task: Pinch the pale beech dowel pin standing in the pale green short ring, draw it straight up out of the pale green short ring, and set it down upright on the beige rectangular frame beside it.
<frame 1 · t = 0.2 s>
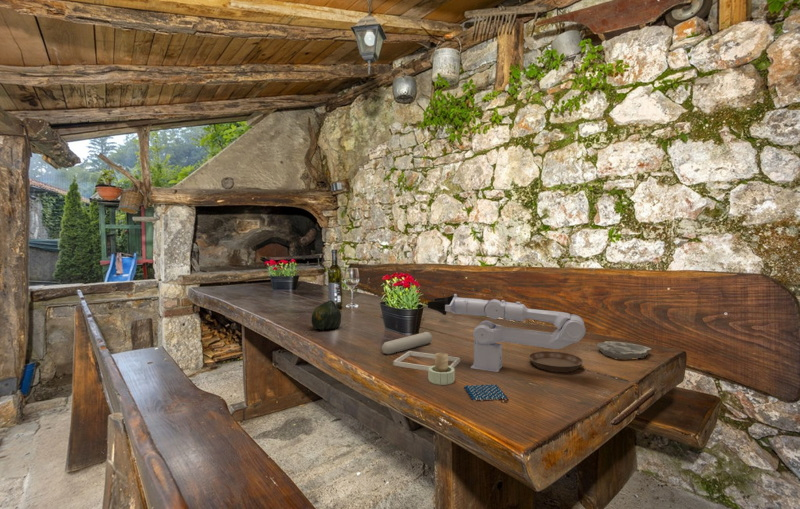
hand: (431, 303, 141), 21 cm above the table, tool horizontal, fingers open, 7 cm apart
dowel pin: (441, 379, 121), point 1 cm above the table, touching pale green short ring
woven mat: (485, 398, 110), on the table
beige rectangular frame: (426, 365, 137), on the table
tube: (406, 349, 158), on the table
pale green short ring: (441, 381, 121), on the table
squash: (326, 329, 194), on the table
grey stone slab: (620, 355, 151), on the table
plant saucer: (555, 366, 137), on the table
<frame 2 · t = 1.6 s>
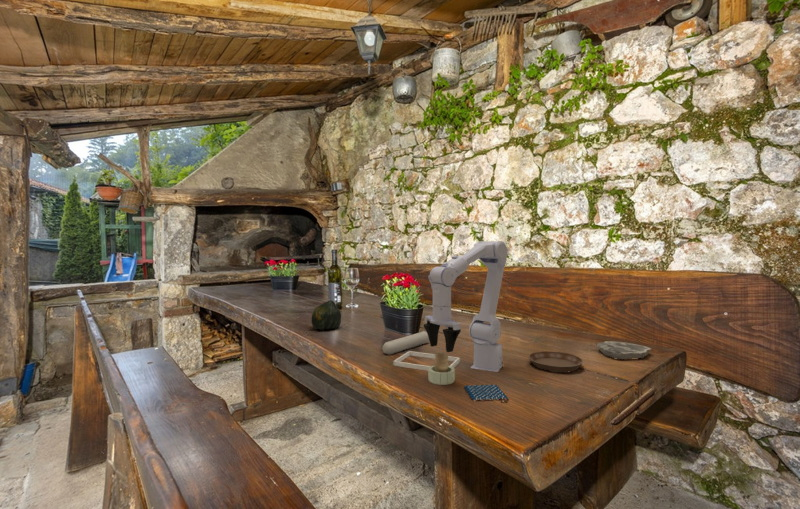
hand: (441, 348, 121), 10 cm above the table, tool pointing down, fingers open, 7 cm apart
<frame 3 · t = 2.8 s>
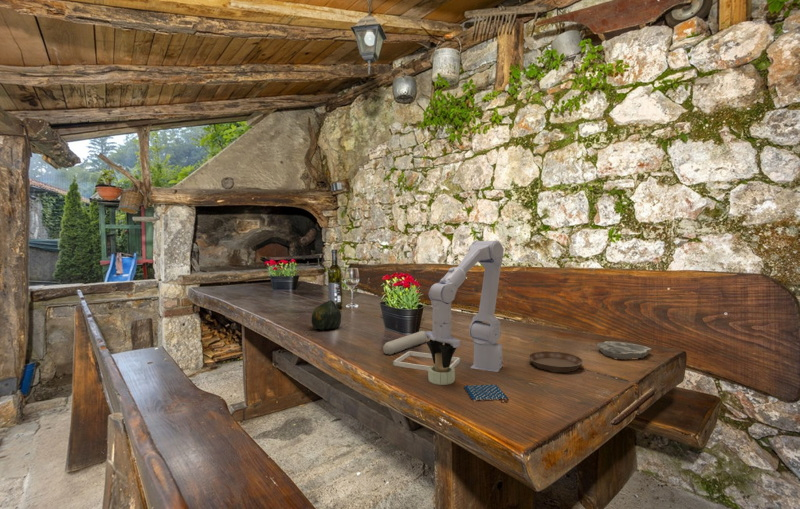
hand: (441, 365, 121), 5 cm above the table, tool pointing down, fingers closed on dowel pin, 4 cm apart
dowel pin: (441, 379, 121), point 1 cm above the table, touching pale green short ring, gripper
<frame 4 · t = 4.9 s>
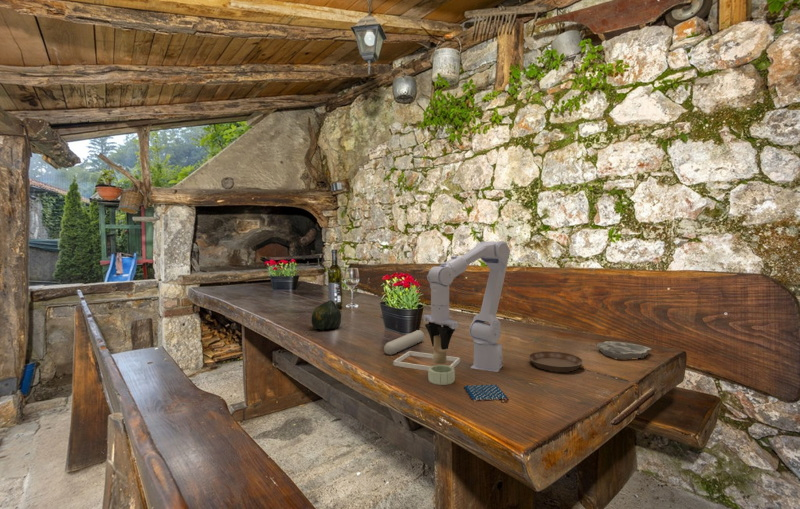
hand: (440, 347, 123), 10 cm above the table, tool pointing down, fingers closed on dowel pin, 4 cm apart
dowel pin: (440, 361, 123), point 6 cm above the table, touching gripper
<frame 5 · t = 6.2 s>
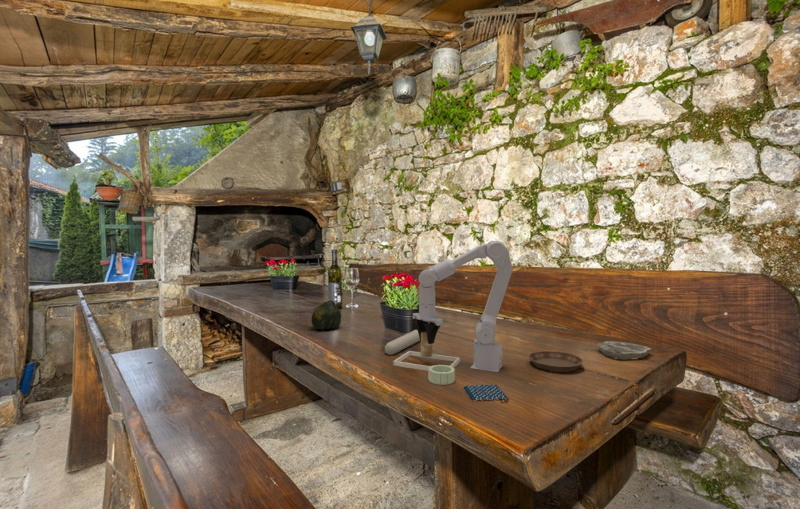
hand: (426, 342, 137), 8 cm above the table, tool pointing down, fingers closed on dowel pin, 4 cm apart
dowel pin: (426, 355, 137), point 4 cm above the table, touching gripper
when the fingers open (6 cm above the table, at t = 7.3 s): dowel pin drops 1 cm, resting on beige rectangular frame.
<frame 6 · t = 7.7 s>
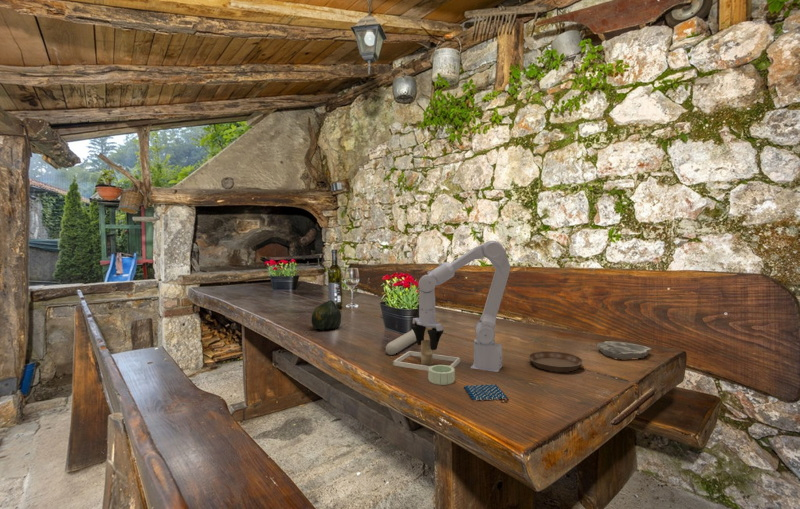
hand: (427, 347, 137), 6 cm above the table, tool pointing down, fingers open, 7 cm apart
dowel pin: (426, 363, 137), point 1 cm above the table, touching beige rectangular frame
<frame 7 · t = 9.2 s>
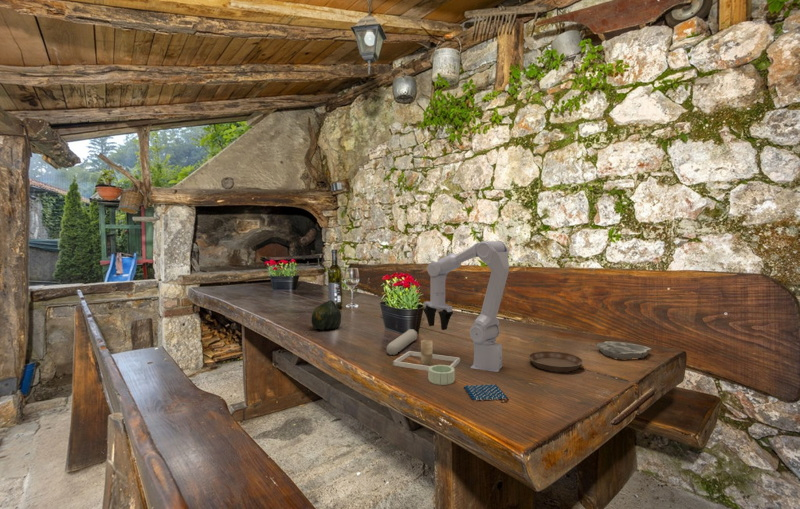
hand: (437, 327, 150), 10 cm above the table, tool pointing down, fingers open, 7 cm apart
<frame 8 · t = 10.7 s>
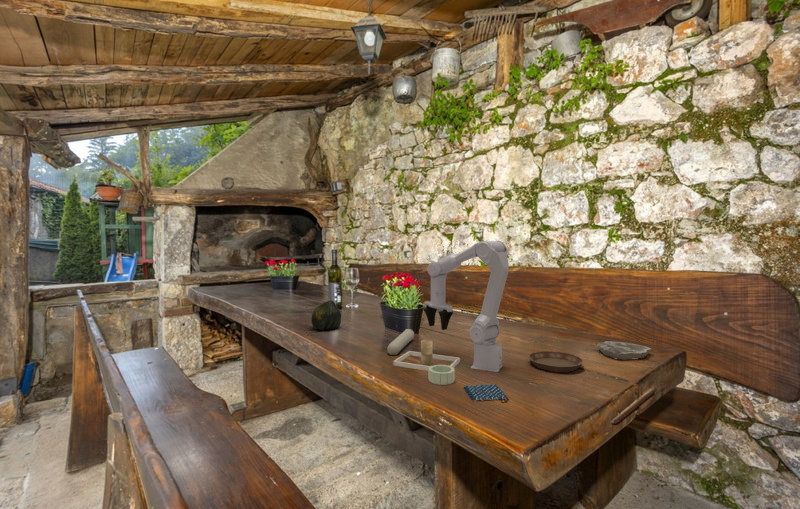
hand: (437, 327, 150), 10 cm above the table, tool pointing down, fingers open, 7 cm apart
at the end: dowel pin inside the target area on the beige rectangular frame (0.1 cm from its centre), point 0.5 cm above the beige rectangular frame's base; dowel pin tilted 0°; the gripper is holding nothing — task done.
